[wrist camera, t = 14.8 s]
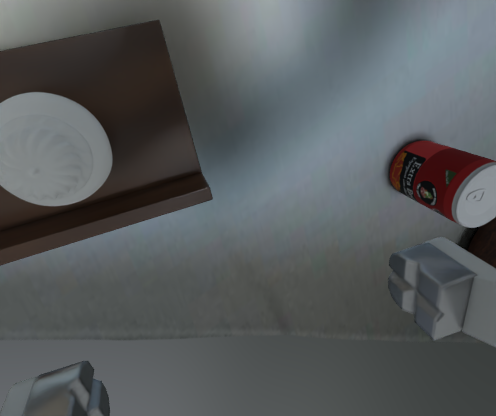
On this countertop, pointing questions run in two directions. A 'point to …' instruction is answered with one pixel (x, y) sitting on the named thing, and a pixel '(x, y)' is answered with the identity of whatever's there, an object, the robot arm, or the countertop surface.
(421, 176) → the canned food
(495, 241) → the wooden bowl
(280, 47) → the countertop surface
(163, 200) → the shelf
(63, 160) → the muffin
